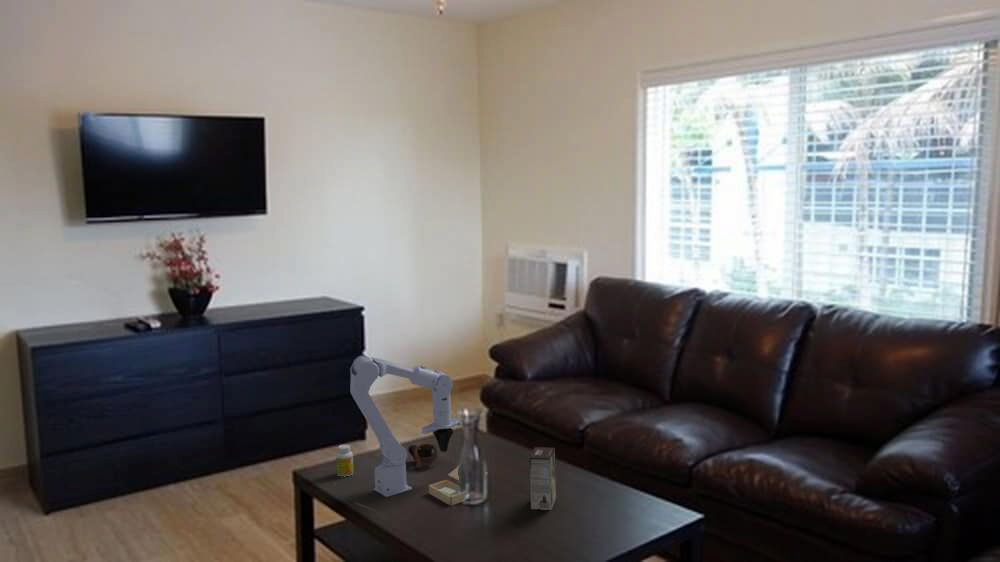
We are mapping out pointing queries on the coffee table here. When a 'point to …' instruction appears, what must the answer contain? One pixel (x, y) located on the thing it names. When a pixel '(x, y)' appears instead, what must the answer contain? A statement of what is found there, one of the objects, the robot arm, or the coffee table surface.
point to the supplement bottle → (344, 461)
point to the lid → (455, 473)
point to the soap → (448, 491)
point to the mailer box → (443, 496)
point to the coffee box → (542, 478)
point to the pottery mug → (423, 454)
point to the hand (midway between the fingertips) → (443, 450)
